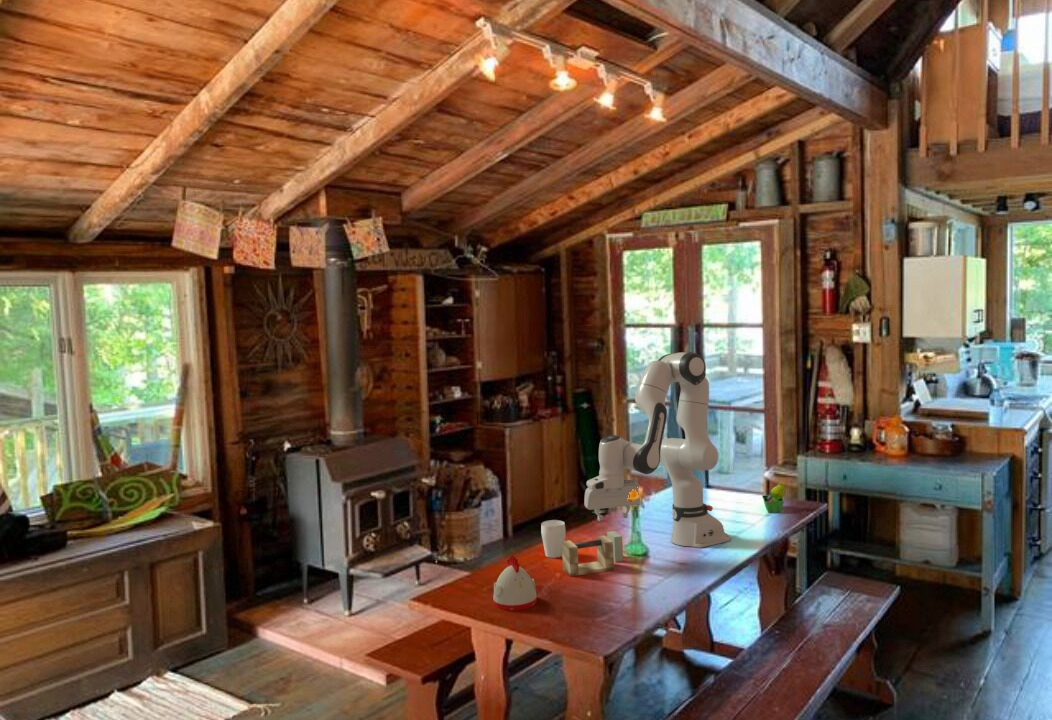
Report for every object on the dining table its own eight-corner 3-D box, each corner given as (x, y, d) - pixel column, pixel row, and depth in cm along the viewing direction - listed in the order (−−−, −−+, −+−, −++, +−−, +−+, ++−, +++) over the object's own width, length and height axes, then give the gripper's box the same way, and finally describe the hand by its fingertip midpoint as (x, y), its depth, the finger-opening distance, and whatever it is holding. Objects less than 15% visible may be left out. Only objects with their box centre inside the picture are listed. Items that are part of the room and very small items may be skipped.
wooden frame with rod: (605, 562, 305) (604, 535, 304) (614, 569, 297) (612, 541, 296) (563, 569, 300) (561, 541, 299) (570, 576, 293) (569, 547, 292)
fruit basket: (761, 506, 366) (761, 480, 365) (783, 506, 365) (782, 480, 364) (765, 513, 355) (764, 487, 354) (787, 513, 354) (786, 486, 353)
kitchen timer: (503, 613, 263) (500, 566, 262) (487, 599, 276) (484, 554, 274) (544, 604, 269) (541, 558, 267) (526, 591, 281) (524, 546, 280)
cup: (564, 559, 311) (563, 527, 310) (540, 558, 313) (538, 526, 312) (568, 551, 320) (566, 520, 319) (544, 551, 321) (543, 519, 320)
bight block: (615, 555, 313) (614, 531, 312) (623, 560, 306) (622, 536, 305) (608, 556, 312) (607, 532, 311) (615, 561, 305) (614, 537, 304)
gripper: (635, 476, 312) (636, 514, 313) (582, 481, 306) (583, 519, 308) (642, 480, 306) (642, 518, 307) (588, 485, 300) (589, 524, 301)
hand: (612, 519), depth 307 cm, fingers open, 8 cm apart
